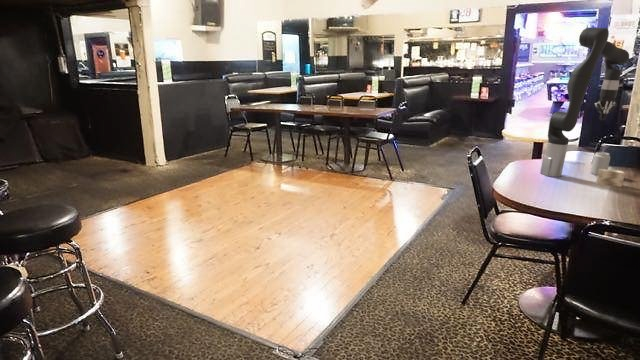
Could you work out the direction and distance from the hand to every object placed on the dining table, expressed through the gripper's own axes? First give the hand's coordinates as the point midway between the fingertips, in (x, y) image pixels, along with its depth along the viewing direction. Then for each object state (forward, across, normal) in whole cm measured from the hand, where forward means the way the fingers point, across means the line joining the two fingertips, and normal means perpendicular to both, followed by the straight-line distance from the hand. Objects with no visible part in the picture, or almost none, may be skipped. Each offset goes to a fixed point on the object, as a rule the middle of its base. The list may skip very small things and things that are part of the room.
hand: (602, 120), depth 234 cm
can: (+27, -9, -16) cm, 33 cm away
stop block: (+27, -17, -33) cm, 46 cm away
